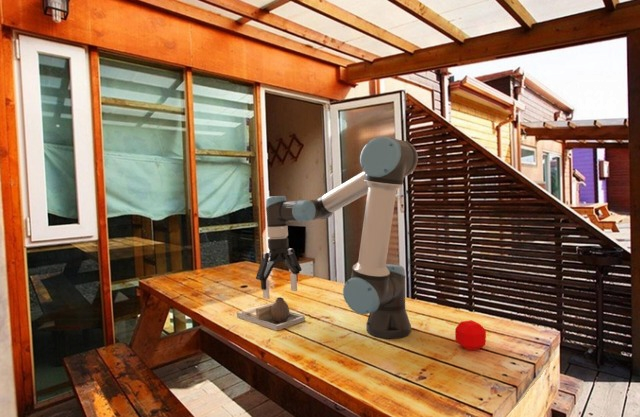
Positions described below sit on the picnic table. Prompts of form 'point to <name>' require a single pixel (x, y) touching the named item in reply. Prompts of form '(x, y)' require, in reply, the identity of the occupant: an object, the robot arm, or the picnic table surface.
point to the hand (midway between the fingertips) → (280, 294)
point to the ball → (470, 335)
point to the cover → (259, 311)
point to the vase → (280, 310)
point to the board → (271, 323)
